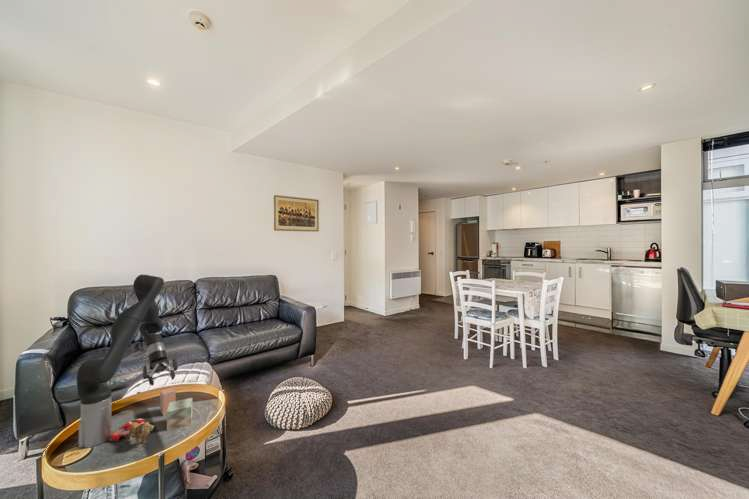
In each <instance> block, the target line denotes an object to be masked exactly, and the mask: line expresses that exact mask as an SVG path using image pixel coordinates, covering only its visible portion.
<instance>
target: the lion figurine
mask: <svg viewBox="0 0 749 499" xmlns="http://www.w3.org/2000/svg"><path fill="white" fill-rule="evenodd" d="M154 427H155V425H154V424H151V423H150V422H149V421H146V423H143V424H141V425H139V424H138V423H133V424H131V426H130V428H129V434H128V435H127V437H128V441H127V443H131V442H132V435H133V436H134V439H135V440H134V441H135V448H139V447H140V443H139V441H140V440H141V443H143V444H146V442H147V440H146V437H147V436H148V435H149V434H150V432H152V431H153V429H154Z"/></svg>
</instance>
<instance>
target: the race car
mask: <svg viewBox="0 0 749 499" xmlns="http://www.w3.org/2000/svg"><path fill="white" fill-rule="evenodd" d="M146 422H147V421H146V419H144V418H142V417H141V418H136V419H132V420H129V421H127V422H126V423H124V424H123V425H122V426H119V428H118V429H117V430H115V431H114V432H113V433H111V435H110V438H109V439H108V440H109V442H112V443H113V442H120V441H122V440H124V438H127V437H128V436H127V435H128V434H129V428H130V426H131V424H133V423H138V424H139V425H141V424H143V423H146Z"/></svg>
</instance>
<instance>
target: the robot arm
mask: <svg viewBox="0 0 749 499" xmlns="http://www.w3.org/2000/svg"><path fill="white" fill-rule="evenodd" d="M164 283H165V280H164V279H163V278H162V277H160V276H154V275H149V274H139V275H138V276H137V277H135V279H134V281H133V284H132V285H133V291H134V294H135V297H136V299H137V301H138V302H136V303H134V304H132V305H130V306H129V307H127V308H126V309H124V310H123V311H122V312H120V313H119V314H118V316H117V318H116V319H115V320H114V322H113V323H112V325H111V327H110V340H111V343H110V347H109V350H108V351H107V354H106V356H105V357H104V358H103V359H102V358H101V359H100V358H95V359H93V358H91V359H88V360H85V361H84V362H83V363H81V364H80V366H79V367H78V370H77V372H76V387H77V388H76V389H77V396H78V398H79V400H80V421H79V423H78V448H79V449H80V448H92V447H96V446H98V445H102V444H103V443H105V442H107V441H108V440H110V439H109V438H110V435H111V434H112V389H111V388H110V387H109V386H108V385H105V384H106V383H108V382H109V381H111V380H112V379H113V378H114V376H115V375H116V373H117V371H118V369H119V367H120V365H121V362H122V360H123V358H124V355H125V352H126V351H127V349H128V347H129V345H130V343H131V342H132V339H133V338H134V336H135V334H136V333H137V331H139V333H140V334H141V336H142V338H143V339H144V342H145V344H146V349H147V352H146V353H147V357H148V363H149V365H143V367H142V377H143V380H148V383H149V386H151V387H152V386H154V384H155V381H154V374H155V373H156V374H157V373H160V372H164V371H166V372H169V373H170V378H171V380H174V379H175V378H176V374H175V373H176V372H177V371H178V368H179V367H178V363H177V361H176V359H175V358H173V359H171V360H169V359H168V355H167V351H166V347H165V345H164V341H163V337H162V335H161V334H158V333H160V332H162V331H163V329H164V324H163V322H162V320H161V318H160V317H159V316H160V315H159V308H158V305H157V304H156V302H155V300H156V299H157V297H158V295H159V294H160V292H161V291H162V289H163V287H164ZM142 322H143V323H142ZM169 364H170V365H169ZM171 365H172V366H171ZM149 370H151V372H150V373H149V374H148V371H149Z"/></svg>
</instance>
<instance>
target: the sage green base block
mask: <svg viewBox="0 0 749 499" xmlns="http://www.w3.org/2000/svg"><path fill="white" fill-rule="evenodd" d="M192 421H193V397H188V398H183V399H180V400H176V401H174V402H169V406H168V410H167V414H166V430H167V431H169V430H174V429H178V428H181V427H186V426H190V425H192Z"/></svg>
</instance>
